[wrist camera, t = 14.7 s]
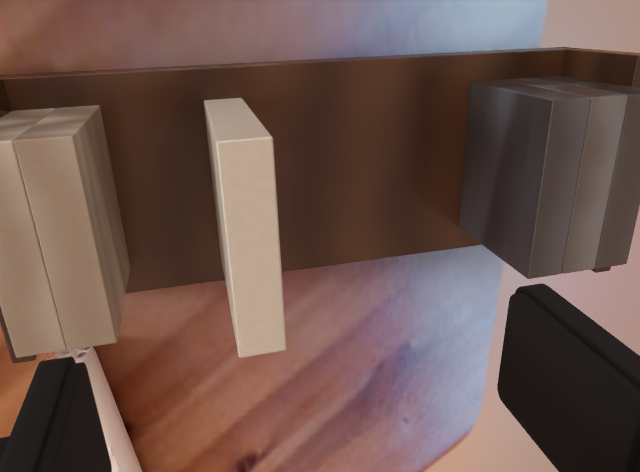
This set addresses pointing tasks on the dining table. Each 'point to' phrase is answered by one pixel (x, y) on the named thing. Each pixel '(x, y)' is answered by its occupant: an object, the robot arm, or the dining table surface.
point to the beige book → (247, 224)
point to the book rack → (308, 173)
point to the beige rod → (107, 412)
